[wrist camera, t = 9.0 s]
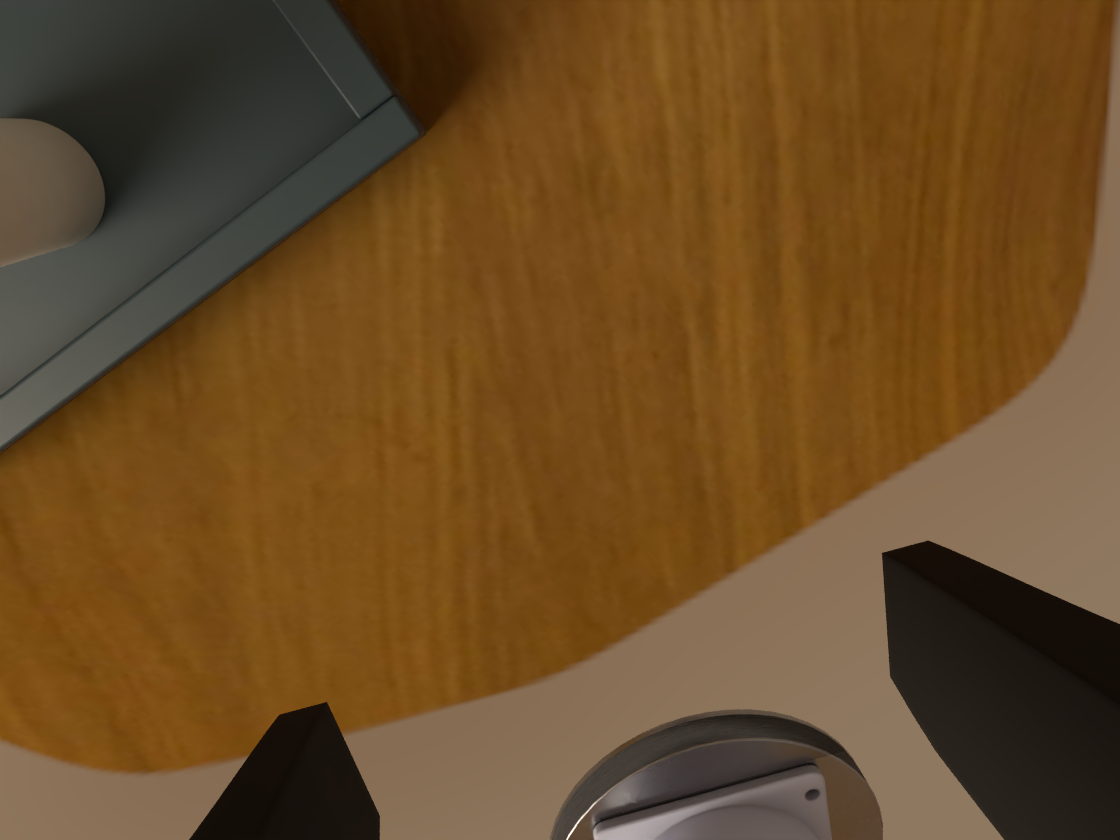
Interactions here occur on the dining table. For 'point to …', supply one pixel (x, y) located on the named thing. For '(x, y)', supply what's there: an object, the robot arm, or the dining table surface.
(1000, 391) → the dining table surface
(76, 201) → the glue stick
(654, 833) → the robot arm
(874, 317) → the dining table surface
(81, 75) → the desk tray
